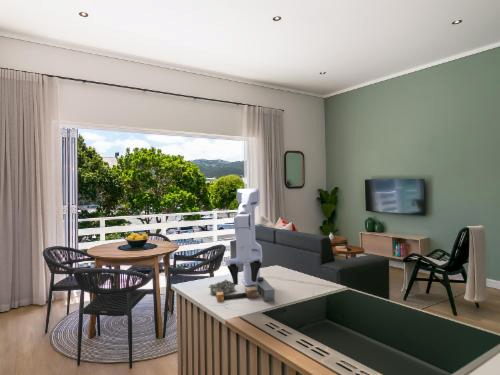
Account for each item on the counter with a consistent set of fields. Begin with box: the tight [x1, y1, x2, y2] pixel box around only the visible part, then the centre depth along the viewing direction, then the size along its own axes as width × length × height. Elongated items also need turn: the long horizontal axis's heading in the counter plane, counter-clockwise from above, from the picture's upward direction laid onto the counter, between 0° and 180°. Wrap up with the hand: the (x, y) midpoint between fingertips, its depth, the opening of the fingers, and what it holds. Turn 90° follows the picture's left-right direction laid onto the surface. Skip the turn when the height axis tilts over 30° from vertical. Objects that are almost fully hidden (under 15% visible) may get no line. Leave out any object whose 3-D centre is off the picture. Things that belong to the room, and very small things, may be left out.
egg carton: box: [208, 279, 236, 296], centre depth 148 cm, size 11×8×4 cm
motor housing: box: [254, 276, 275, 302], centre depth 142 cm, size 16×4×5 cm, turn 13°
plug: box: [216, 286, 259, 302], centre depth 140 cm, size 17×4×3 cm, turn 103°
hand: (244, 282), depth 129 cm, fingers open, 7 cm apart
